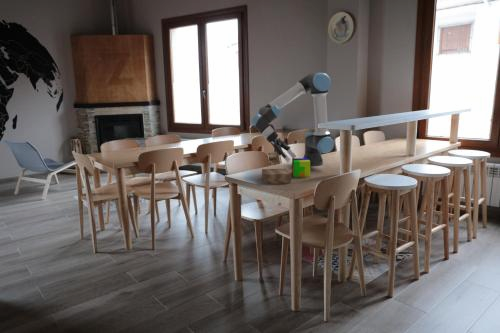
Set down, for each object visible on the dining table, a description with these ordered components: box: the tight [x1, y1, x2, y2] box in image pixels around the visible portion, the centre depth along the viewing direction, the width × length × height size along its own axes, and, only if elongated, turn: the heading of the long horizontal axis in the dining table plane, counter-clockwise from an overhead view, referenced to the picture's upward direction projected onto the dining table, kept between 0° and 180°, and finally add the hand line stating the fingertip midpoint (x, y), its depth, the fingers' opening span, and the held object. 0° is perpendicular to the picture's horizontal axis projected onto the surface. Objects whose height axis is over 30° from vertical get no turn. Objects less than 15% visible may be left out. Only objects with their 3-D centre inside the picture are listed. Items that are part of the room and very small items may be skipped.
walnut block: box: [261, 167, 292, 185], centre depth 240 cm, size 15×15×6 cm
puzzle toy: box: [291, 157, 311, 178], centre depth 253 cm, size 10×10×10 cm
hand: (292, 159), depth 253 cm, fingers open, 13 cm apart
